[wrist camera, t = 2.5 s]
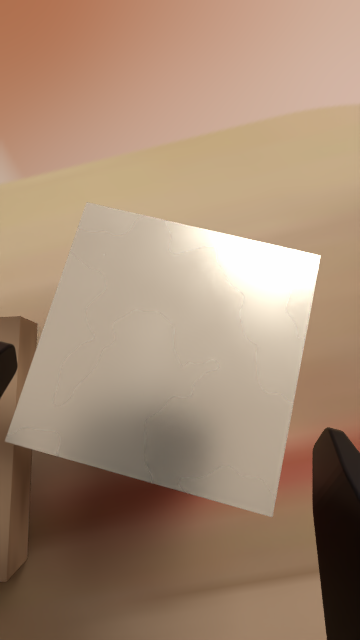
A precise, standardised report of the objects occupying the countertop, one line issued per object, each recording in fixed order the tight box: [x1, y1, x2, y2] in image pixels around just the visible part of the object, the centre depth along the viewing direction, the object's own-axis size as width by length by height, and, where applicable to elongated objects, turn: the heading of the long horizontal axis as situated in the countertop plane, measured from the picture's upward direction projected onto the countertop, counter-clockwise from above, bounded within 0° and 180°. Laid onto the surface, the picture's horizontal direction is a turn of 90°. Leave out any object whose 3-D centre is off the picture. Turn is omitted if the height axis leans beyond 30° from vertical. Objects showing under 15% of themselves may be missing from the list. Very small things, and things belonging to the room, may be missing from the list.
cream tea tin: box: [5, 202, 320, 517], centre depth 13 cm, size 6×6×11 cm
